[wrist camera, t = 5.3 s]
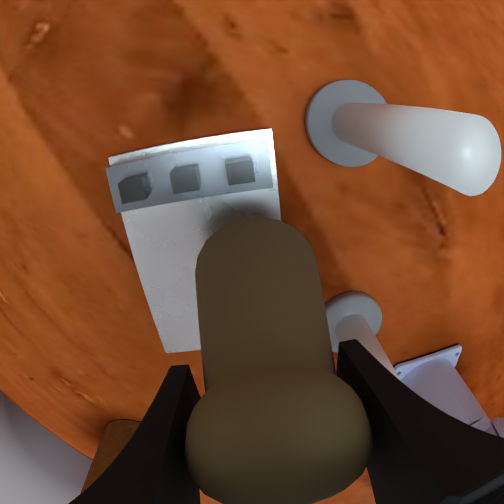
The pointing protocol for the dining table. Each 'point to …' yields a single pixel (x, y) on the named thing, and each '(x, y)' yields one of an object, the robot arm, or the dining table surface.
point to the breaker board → (188, 214)
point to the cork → (269, 375)
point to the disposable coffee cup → (110, 447)
